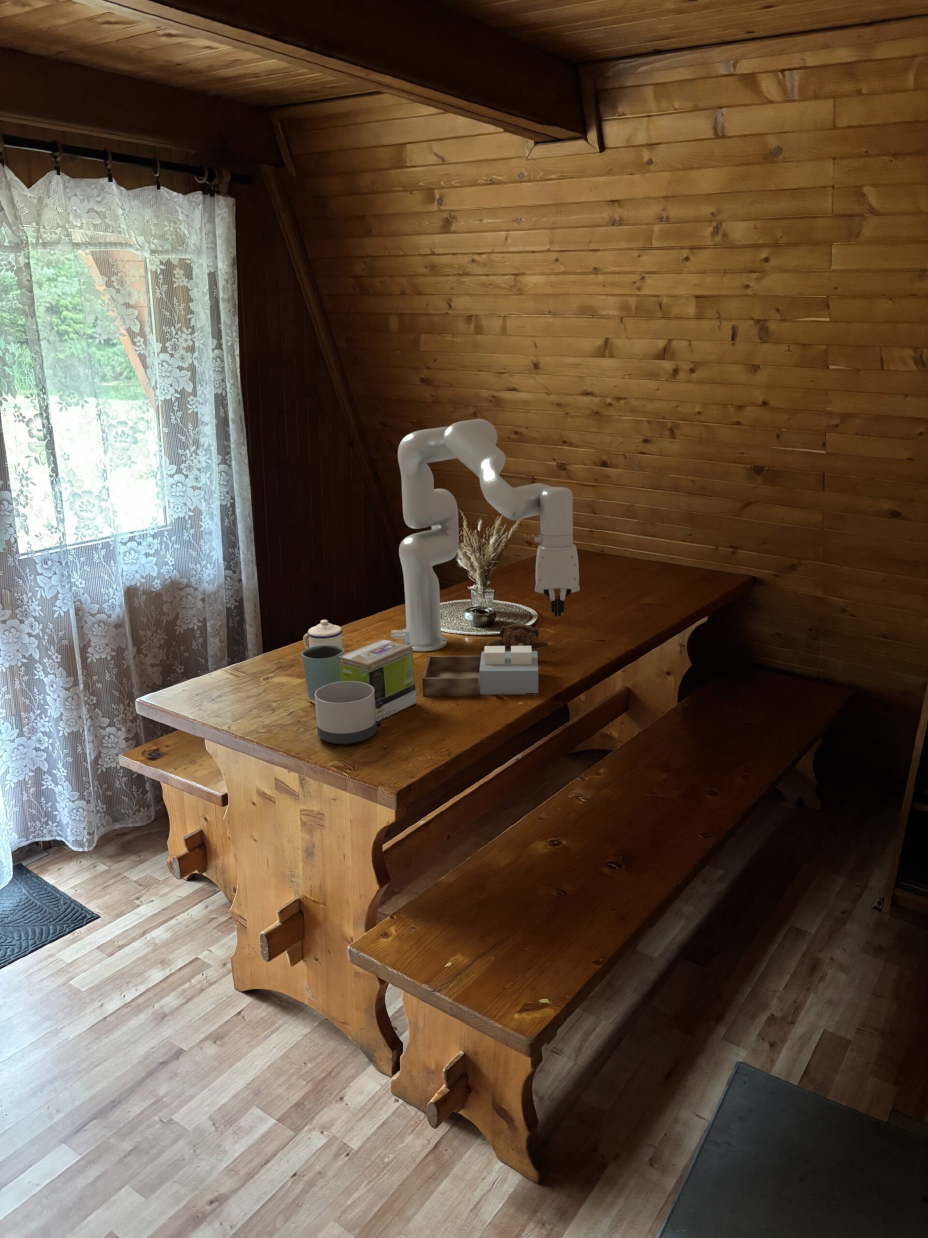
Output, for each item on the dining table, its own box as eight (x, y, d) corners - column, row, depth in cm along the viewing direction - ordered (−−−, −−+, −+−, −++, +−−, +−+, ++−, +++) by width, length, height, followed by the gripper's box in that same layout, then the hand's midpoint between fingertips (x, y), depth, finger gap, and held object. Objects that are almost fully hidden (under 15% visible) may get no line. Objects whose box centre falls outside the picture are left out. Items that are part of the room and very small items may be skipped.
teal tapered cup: (308, 708, 225) (304, 660, 221) (302, 693, 234) (298, 647, 231) (350, 703, 228) (347, 655, 224) (343, 688, 237) (340, 642, 233)
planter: (336, 754, 201) (332, 708, 198) (307, 734, 211) (304, 690, 208) (388, 738, 208) (385, 693, 205) (358, 719, 218) (355, 676, 215)
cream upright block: (511, 664, 233) (510, 652, 232) (511, 657, 237) (511, 645, 237) (531, 664, 232) (531, 652, 231) (531, 657, 237) (531, 645, 236)
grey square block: (479, 694, 231) (479, 671, 229) (482, 673, 244) (481, 651, 242) (538, 694, 230) (538, 670, 228) (537, 673, 243) (537, 651, 241)
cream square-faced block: (484, 664, 233) (484, 652, 232) (485, 657, 238) (484, 646, 237) (504, 664, 233) (504, 652, 232) (505, 657, 237) (505, 645, 237)
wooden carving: (486, 665, 250) (485, 628, 247) (486, 659, 254) (485, 623, 251) (549, 663, 250) (549, 627, 247) (548, 657, 254) (548, 622, 251)
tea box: (386, 695, 232) (383, 637, 228) (417, 704, 226) (414, 645, 221) (341, 715, 221) (337, 654, 217) (372, 725, 215) (368, 663, 210)
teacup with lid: (351, 659, 257) (348, 618, 253) (329, 670, 249) (326, 627, 246) (316, 652, 263) (313, 612, 259) (294, 663, 255) (290, 621, 252)
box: (422, 696, 231) (422, 678, 229) (429, 672, 246) (428, 656, 244) (478, 695, 230) (478, 678, 228) (481, 672, 245) (480, 655, 244)
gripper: (524, 544, 222) (526, 620, 227) (589, 542, 221) (589, 619, 226) (524, 537, 229) (526, 611, 235) (587, 536, 228) (587, 610, 234)
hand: (557, 615), depth 231 cm, fingers closed
